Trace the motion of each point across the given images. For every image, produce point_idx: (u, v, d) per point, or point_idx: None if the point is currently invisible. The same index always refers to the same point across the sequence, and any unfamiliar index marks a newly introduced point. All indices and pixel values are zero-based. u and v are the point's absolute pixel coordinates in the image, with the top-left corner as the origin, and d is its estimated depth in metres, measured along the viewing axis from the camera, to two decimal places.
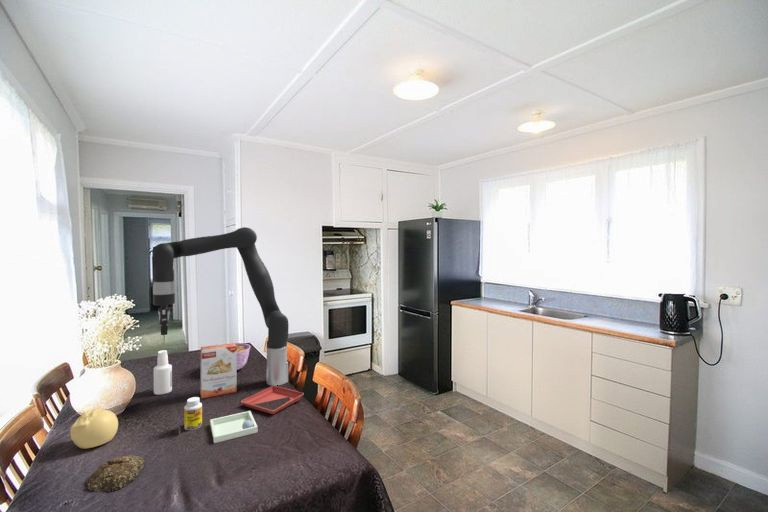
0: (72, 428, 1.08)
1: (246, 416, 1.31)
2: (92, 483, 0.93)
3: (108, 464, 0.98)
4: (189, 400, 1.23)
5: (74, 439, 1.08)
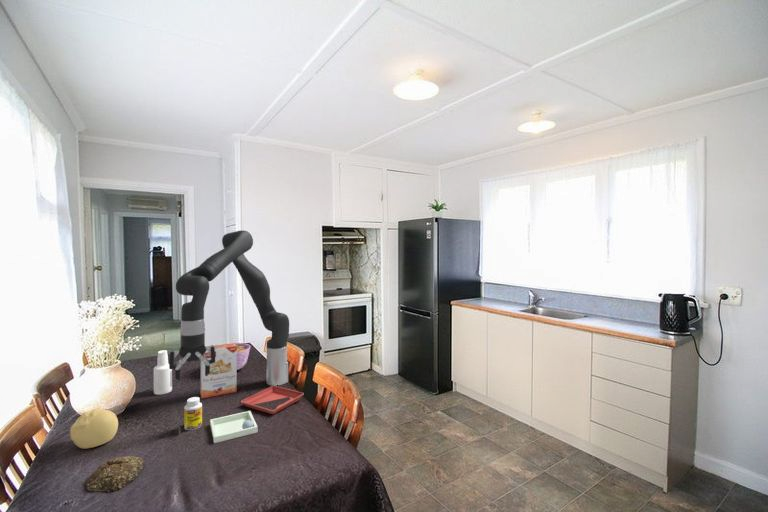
0: (72, 428, 1.08)
1: (246, 416, 1.31)
2: (91, 483, 0.93)
3: (107, 464, 0.97)
4: (189, 400, 1.23)
5: (74, 439, 1.08)
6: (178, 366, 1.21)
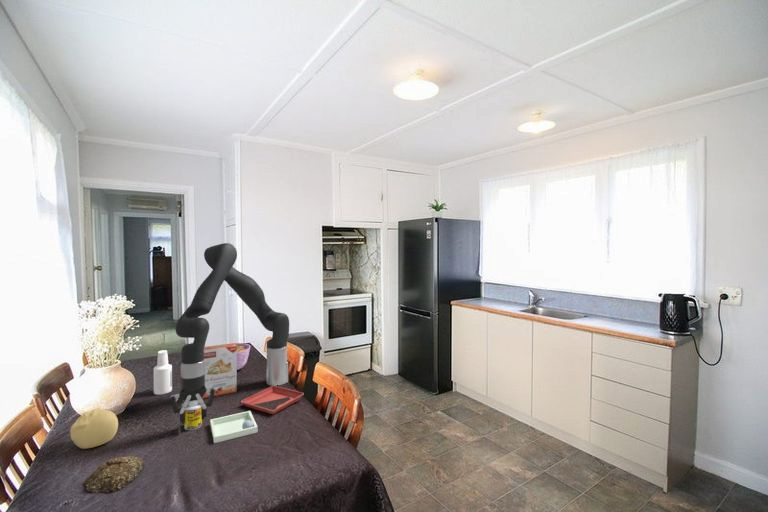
0: (72, 428, 1.08)
1: (246, 416, 1.31)
2: (90, 484, 0.93)
3: (107, 465, 0.97)
4: None
5: (74, 439, 1.08)
6: (182, 410, 1.22)
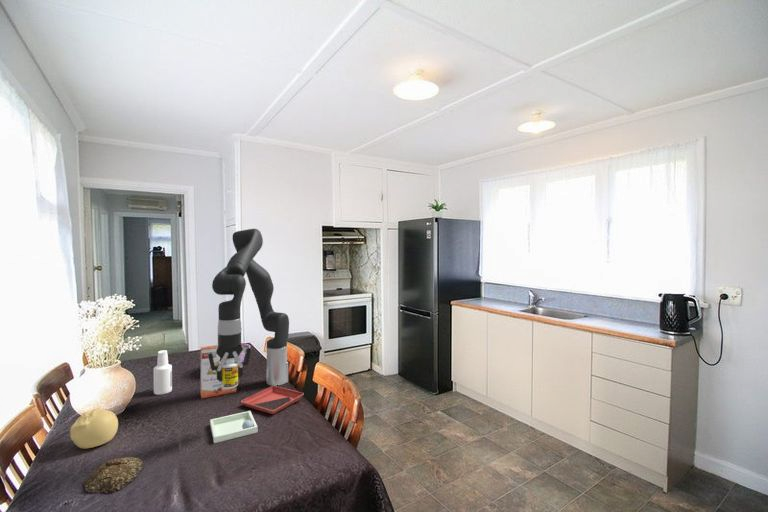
0: (72, 428, 1.08)
1: (246, 416, 1.31)
2: (89, 484, 0.92)
3: (106, 465, 0.97)
4: None
5: (74, 439, 1.08)
6: (219, 367, 1.20)
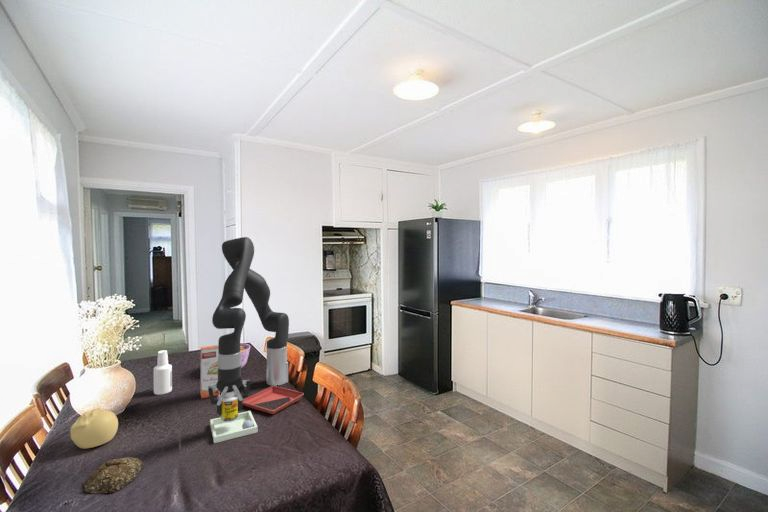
0: (72, 428, 1.08)
1: (246, 416, 1.31)
2: (89, 485, 0.92)
3: (105, 466, 0.97)
4: None
5: (74, 439, 1.08)
6: (219, 401, 1.20)
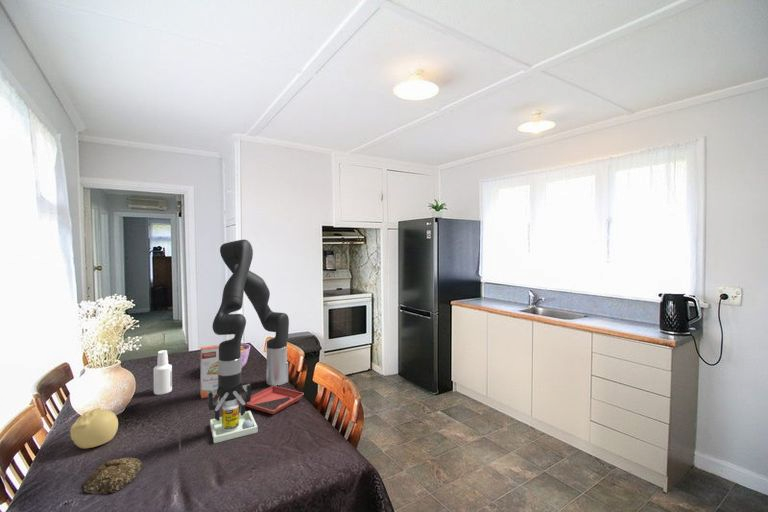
0: (72, 428, 1.08)
1: (246, 416, 1.31)
2: (88, 485, 0.92)
3: (105, 466, 0.97)
4: None
5: (74, 439, 1.08)
6: (217, 407, 1.20)
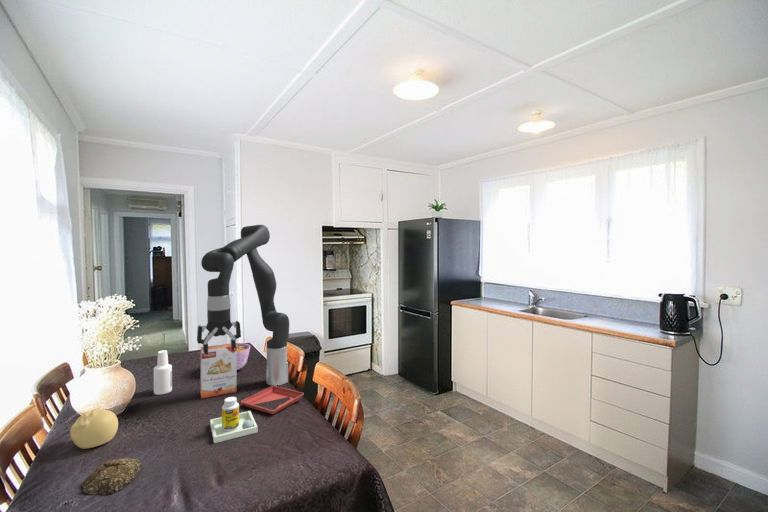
0: (72, 428, 1.08)
1: (246, 416, 1.31)
2: (88, 486, 0.92)
3: (104, 467, 0.96)
4: (227, 400, 1.22)
5: (74, 439, 1.08)
6: (206, 340, 1.24)
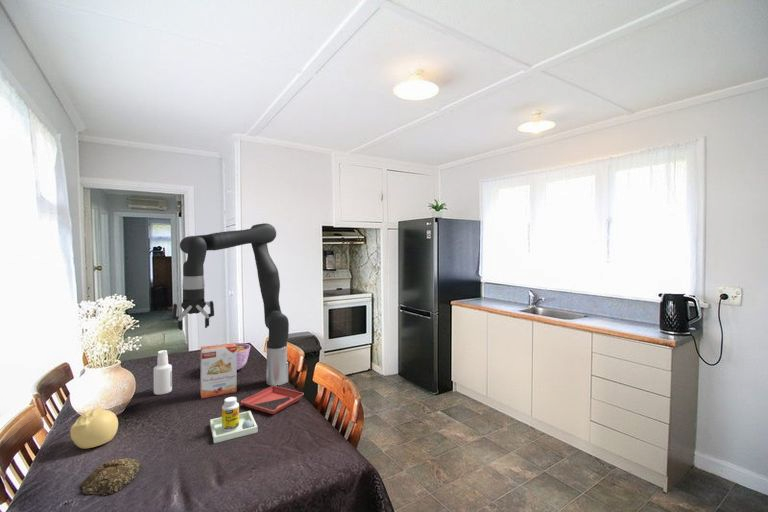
0: (72, 428, 1.08)
1: (246, 416, 1.31)
2: (87, 486, 0.92)
3: (104, 467, 0.96)
4: (227, 400, 1.22)
5: (74, 439, 1.08)
6: (180, 317, 1.34)
